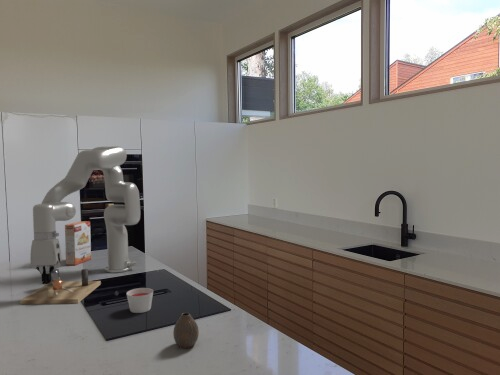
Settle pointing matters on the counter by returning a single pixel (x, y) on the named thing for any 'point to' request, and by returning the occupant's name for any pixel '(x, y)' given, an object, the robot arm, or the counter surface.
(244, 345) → the counter surface
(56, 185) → the robot arm
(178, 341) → the vase
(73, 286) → the base
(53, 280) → the lever
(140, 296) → the candle
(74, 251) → the cracker box
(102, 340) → the counter surface
